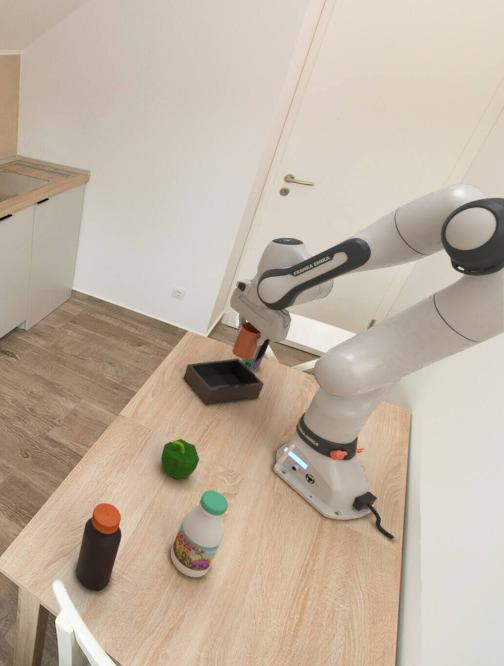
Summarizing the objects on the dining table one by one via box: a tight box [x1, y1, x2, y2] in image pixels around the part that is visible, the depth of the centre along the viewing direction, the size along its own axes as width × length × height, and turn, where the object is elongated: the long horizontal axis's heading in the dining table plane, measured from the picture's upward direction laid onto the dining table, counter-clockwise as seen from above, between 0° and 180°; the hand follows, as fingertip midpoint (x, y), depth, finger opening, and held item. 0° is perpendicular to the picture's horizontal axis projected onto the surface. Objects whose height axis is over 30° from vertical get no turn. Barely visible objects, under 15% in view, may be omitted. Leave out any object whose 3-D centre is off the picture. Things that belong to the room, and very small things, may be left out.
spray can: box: [240, 339, 271, 372], centre depth 149 cm, size 6×6×20 cm
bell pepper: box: [160, 438, 200, 481], centre depth 115 cm, size 8×8×10 cm
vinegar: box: [75, 502, 123, 592], centre depth 90 cm, size 7×7×20 cm
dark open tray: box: [183, 358, 265, 406], centre depth 144 cm, size 13×18×6 cm
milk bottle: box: [170, 490, 229, 578], centre depth 93 cm, size 8×8×20 cm
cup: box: [231, 321, 261, 360], centre depth 137 cm, size 6×6×9 cm
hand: (249, 336), depth 136 cm, fingers closed on cup, 6 cm apart
